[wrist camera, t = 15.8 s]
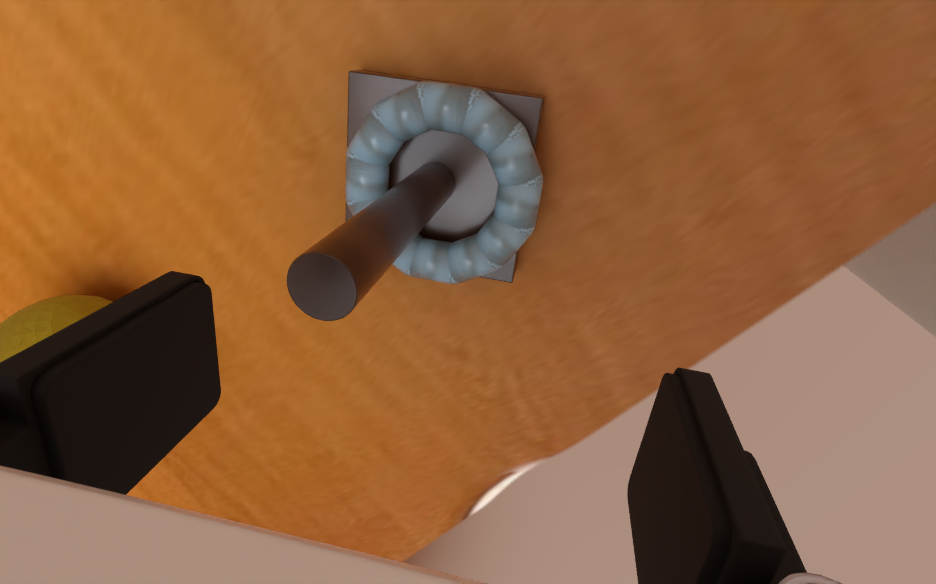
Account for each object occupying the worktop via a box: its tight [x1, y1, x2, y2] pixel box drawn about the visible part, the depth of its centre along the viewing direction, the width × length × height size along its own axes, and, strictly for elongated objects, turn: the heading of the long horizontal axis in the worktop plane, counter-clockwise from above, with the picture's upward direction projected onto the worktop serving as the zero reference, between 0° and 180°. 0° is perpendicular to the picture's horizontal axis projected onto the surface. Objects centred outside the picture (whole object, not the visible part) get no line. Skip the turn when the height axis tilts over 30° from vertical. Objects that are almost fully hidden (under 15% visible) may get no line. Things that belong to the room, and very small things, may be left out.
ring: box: [346, 81, 543, 284], centre depth 25 cm, size 9×9×2 cm
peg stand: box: [287, 70, 545, 321], centre depth 21 cm, size 9×9×14 cm
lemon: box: [0, 295, 112, 362], centre depth 32 cm, size 11×8×8 cm
